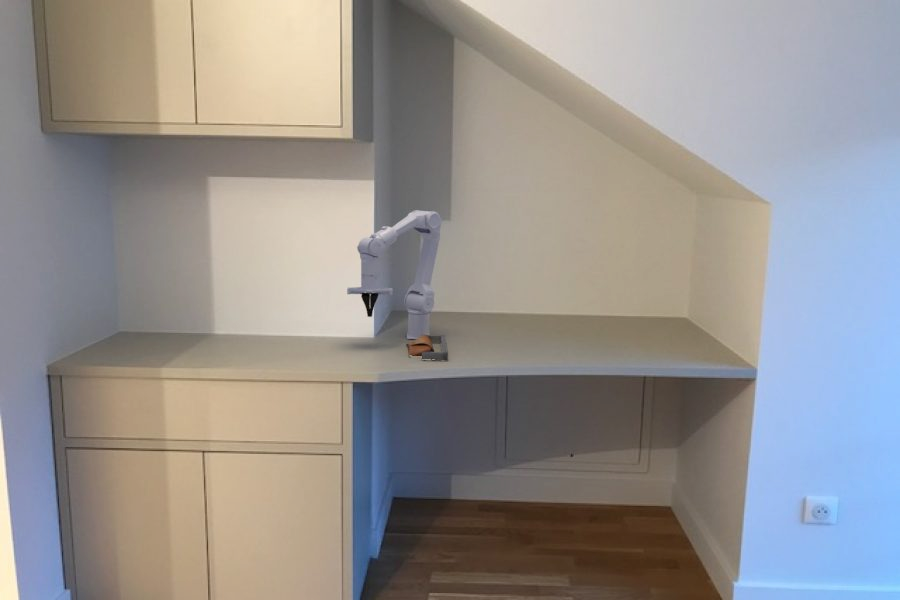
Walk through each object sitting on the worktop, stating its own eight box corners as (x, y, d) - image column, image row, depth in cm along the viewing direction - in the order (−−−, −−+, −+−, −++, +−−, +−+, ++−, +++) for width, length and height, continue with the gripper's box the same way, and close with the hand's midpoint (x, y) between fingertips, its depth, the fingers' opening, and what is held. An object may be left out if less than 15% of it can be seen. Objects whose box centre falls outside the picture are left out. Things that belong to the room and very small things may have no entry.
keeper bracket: (421, 342, 240) (421, 334, 240) (444, 342, 241) (444, 335, 240) (421, 360, 217) (421, 352, 216) (447, 361, 217) (447, 353, 217)
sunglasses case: (404, 343, 237) (414, 327, 237) (422, 354, 239) (432, 337, 238) (408, 357, 220) (419, 339, 219) (427, 368, 221) (438, 351, 221)
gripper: (346, 276, 223) (346, 318, 226) (392, 277, 224) (391, 319, 226) (348, 273, 230) (348, 313, 233) (392, 273, 231) (392, 314, 233)
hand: (369, 316), depth 230 cm, fingers closed
